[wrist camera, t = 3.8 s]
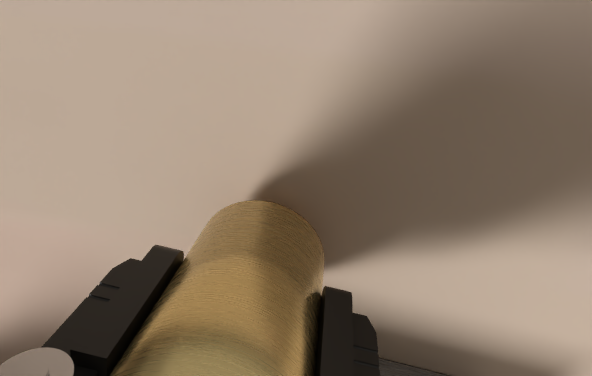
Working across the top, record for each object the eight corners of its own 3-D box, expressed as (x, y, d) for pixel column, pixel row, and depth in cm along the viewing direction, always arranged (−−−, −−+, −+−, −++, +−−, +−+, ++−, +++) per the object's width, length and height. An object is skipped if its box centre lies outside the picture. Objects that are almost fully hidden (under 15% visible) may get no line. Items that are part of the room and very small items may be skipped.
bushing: (207, 186, 11) (-40, 502, 4) (338, 218, 11) (327, 595, 4) (195, 289, 13) (9, 637, 6) (308, 316, 13) (263, 703, 6)
